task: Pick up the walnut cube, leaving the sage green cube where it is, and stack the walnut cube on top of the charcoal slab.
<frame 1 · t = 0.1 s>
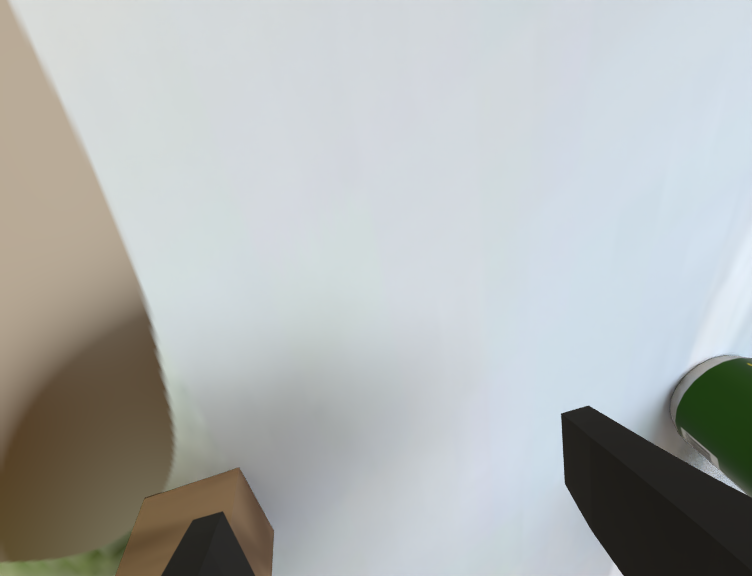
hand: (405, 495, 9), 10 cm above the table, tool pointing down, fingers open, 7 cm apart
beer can: (708, 391, 24), on the table
walnut cube: (212, 514, 22), on the table
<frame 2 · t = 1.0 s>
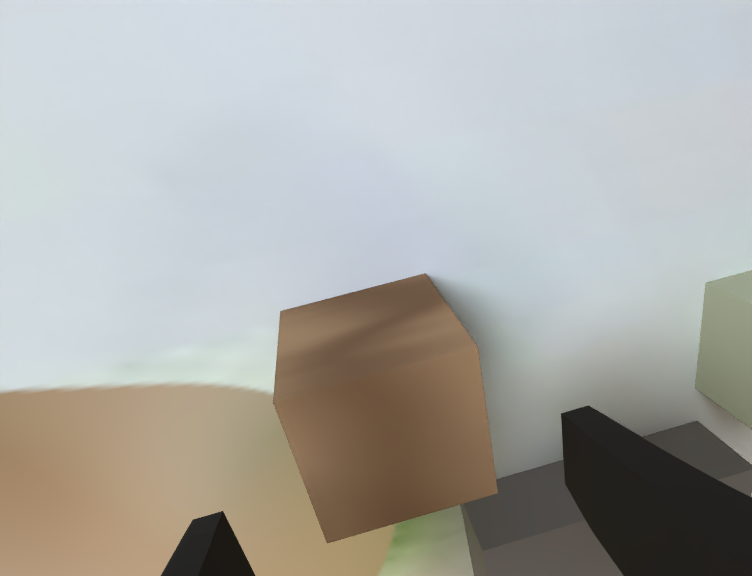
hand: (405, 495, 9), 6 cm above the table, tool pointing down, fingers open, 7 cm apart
charcoal slab: (576, 530, 20), on the table
walnut cube: (369, 352, 15), on the table
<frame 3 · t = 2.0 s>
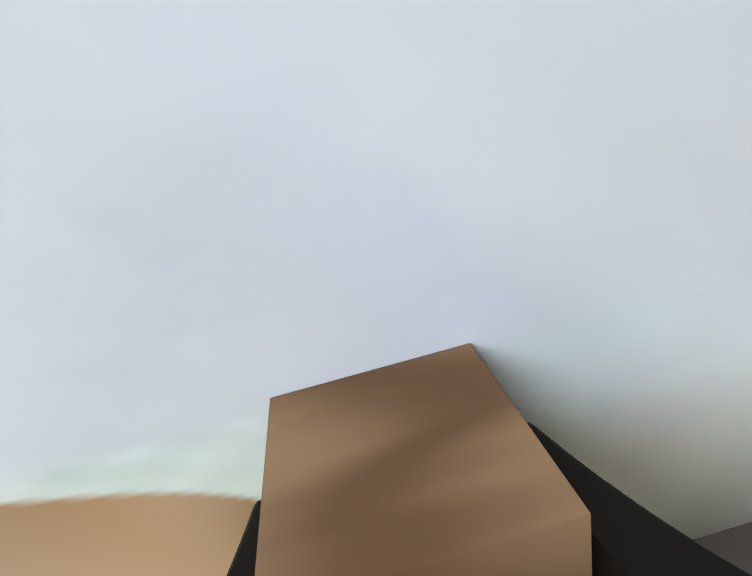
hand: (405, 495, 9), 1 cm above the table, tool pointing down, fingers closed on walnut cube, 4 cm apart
walnut cube: (391, 447, 11), on the table, touching gripper
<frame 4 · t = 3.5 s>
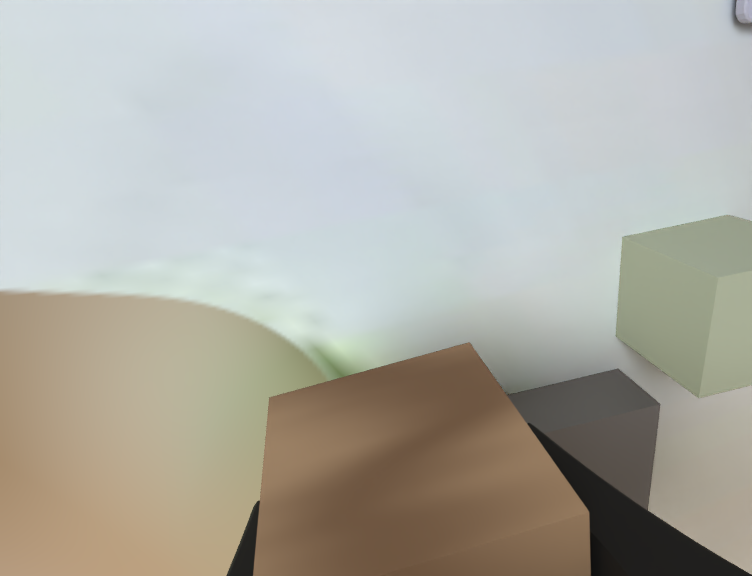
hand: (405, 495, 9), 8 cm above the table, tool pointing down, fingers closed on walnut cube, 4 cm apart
charcoal slab: (511, 471, 22), on the table
sage green cube: (668, 277, 19), on the table
walnut cube: (390, 446, 11), point 7 cm above the table, touching gripper
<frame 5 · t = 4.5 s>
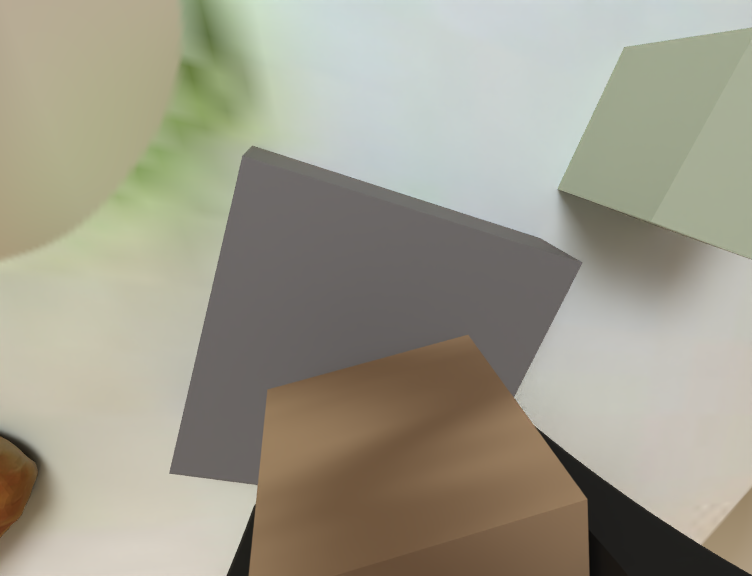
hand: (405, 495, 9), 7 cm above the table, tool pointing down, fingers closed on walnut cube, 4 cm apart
charcoal slab: (359, 325, 17), on the table
sage green cube: (642, 144, 15), on the table
walnut cube: (389, 439, 11), point 6 cm above the table, touching gripper
when the fingers open (6 cm above the table, at t = 5.3 s): walnut cube drops 2 cm, point 3 cm above the table.
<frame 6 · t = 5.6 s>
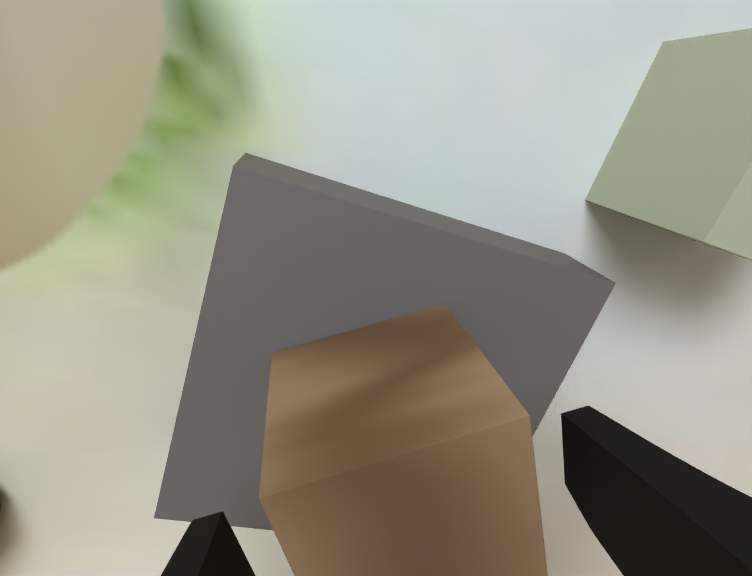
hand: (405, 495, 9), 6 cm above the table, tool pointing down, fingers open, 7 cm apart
charcoal slab: (364, 347, 15), on the table
sage green cube: (678, 150, 14), on the table
walnut cube: (379, 399, 12), point 3 cm above the table
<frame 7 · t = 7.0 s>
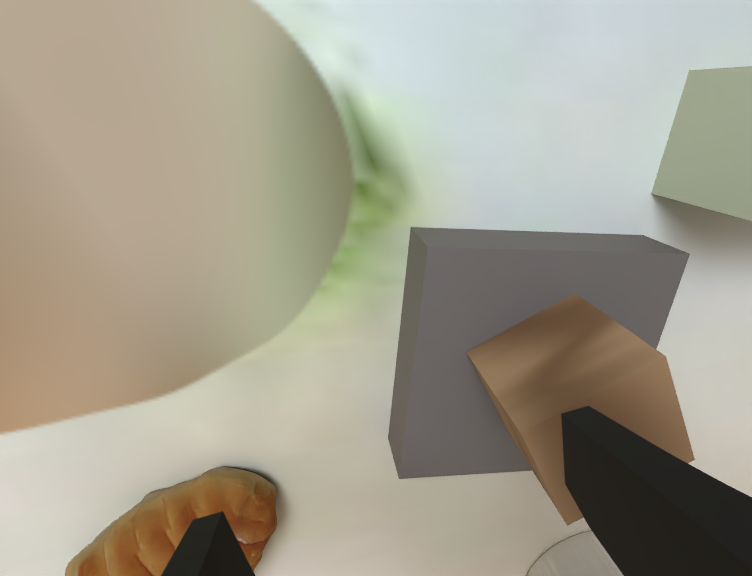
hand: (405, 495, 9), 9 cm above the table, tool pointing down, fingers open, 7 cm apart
charcoal slab: (504, 336, 21), on the table
pastry: (181, 527, 22), on the table
ramekin: (579, 569, 28), on the table
sage green cube: (717, 139, 18), on the table
walnut cube: (539, 366, 18), point 2 cm above the table
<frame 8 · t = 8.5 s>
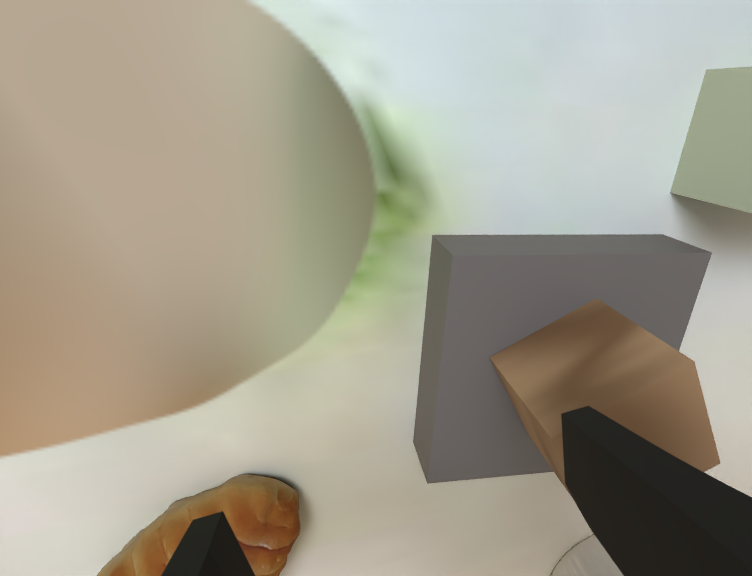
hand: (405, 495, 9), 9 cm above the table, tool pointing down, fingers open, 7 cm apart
charcoal slab: (526, 338, 21), on the table, touching walnut cube
pastry: (206, 534, 22), on the table
ramekin: (604, 566, 28), on the table
sage green cube: (735, 136, 18), on the table
walnut cube: (560, 371, 18), point 2 cm above the table, touching charcoal slab
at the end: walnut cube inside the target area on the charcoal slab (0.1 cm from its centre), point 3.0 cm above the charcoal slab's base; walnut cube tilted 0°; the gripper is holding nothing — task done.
